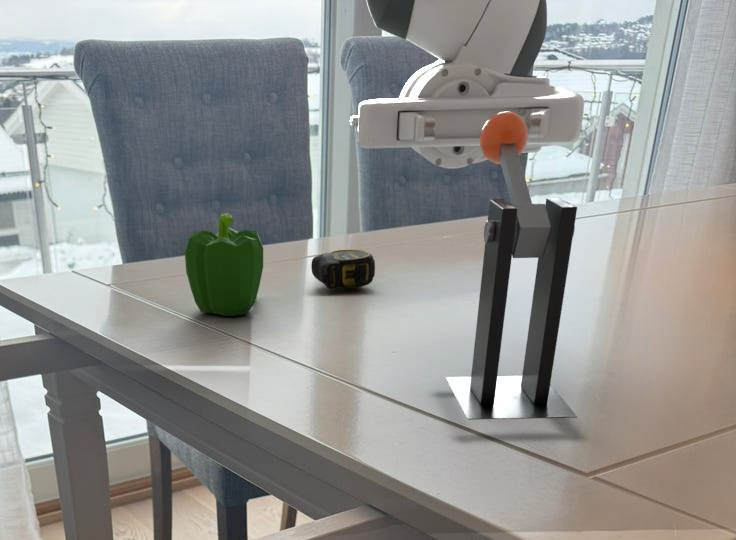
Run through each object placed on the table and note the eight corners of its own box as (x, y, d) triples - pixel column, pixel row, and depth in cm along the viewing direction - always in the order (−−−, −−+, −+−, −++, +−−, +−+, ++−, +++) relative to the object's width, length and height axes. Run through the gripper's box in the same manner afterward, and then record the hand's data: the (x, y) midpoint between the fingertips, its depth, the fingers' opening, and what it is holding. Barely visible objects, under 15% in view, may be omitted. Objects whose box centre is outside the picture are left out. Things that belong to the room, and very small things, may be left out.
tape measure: (309, 283, 111) (309, 250, 109) (365, 280, 112) (366, 246, 110) (323, 296, 106) (323, 261, 104) (381, 292, 107) (382, 257, 104)
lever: (473, 148, 74) (481, 102, 71) (518, 147, 74) (528, 101, 71) (500, 266, 66) (511, 219, 63) (551, 265, 66) (564, 218, 63)
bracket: (443, 391, 77) (461, 194, 69) (541, 389, 76) (570, 191, 68) (465, 434, 68) (489, 215, 60) (575, 433, 68) (613, 212, 60)
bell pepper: (194, 302, 104) (189, 205, 99) (267, 303, 103) (266, 204, 98) (181, 321, 97) (174, 218, 92) (259, 322, 96) (257, 217, 91)
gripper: (349, 82, 89) (361, 88, 78) (562, 76, 89) (607, 81, 77) (347, 155, 93) (358, 172, 81) (553, 150, 92) (594, 165, 81)
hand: (482, 127), depth 79 cm, fingers open, 8 cm apart
